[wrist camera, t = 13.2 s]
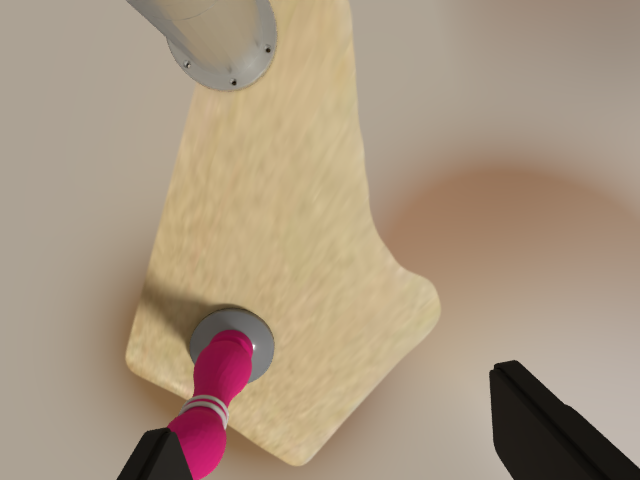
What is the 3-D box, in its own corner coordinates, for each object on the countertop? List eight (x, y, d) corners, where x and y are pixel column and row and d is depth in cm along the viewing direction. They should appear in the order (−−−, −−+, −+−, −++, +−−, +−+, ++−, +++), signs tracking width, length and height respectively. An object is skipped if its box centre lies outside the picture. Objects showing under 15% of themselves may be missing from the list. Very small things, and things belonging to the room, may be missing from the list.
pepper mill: (195, 346, 45) (111, 486, 25) (233, 316, 44) (175, 437, 24) (230, 379, 46) (175, 534, 27) (267, 350, 45) (238, 490, 26)
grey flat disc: (182, 316, 45) (173, 328, 42) (264, 301, 45) (261, 311, 42) (205, 386, 48) (198, 402, 45) (282, 372, 48) (280, 386, 45)
